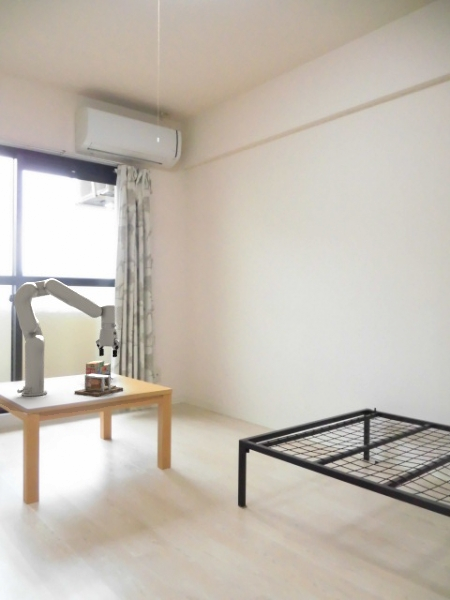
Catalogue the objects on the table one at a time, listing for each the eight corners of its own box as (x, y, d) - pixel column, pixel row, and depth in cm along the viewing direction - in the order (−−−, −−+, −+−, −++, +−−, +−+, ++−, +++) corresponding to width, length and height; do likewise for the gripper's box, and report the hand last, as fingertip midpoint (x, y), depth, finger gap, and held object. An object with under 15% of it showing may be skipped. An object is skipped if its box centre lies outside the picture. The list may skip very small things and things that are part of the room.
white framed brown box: (100, 390, 256) (100, 376, 256) (87, 389, 260) (87, 375, 260) (115, 387, 267) (116, 373, 267) (103, 385, 271) (103, 372, 271)
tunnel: (102, 391, 255) (103, 377, 255) (84, 389, 261) (84, 375, 261) (110, 390, 260) (110, 375, 260) (92, 387, 266) (92, 373, 266)
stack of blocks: (102, 377, 310) (102, 358, 310) (110, 377, 309) (111, 359, 309) (85, 383, 290) (85, 362, 290) (94, 383, 288) (95, 363, 288)
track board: (97, 397, 249) (97, 394, 249) (74, 393, 256) (74, 391, 256) (123, 390, 268) (123, 387, 268) (101, 387, 275) (101, 385, 275)
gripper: (124, 326, 267) (124, 356, 267) (100, 325, 275) (100, 354, 275) (115, 327, 260) (115, 358, 260) (91, 326, 268) (91, 356, 268)
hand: (108, 356), depth 268 cm, fingers open, 9 cm apart
